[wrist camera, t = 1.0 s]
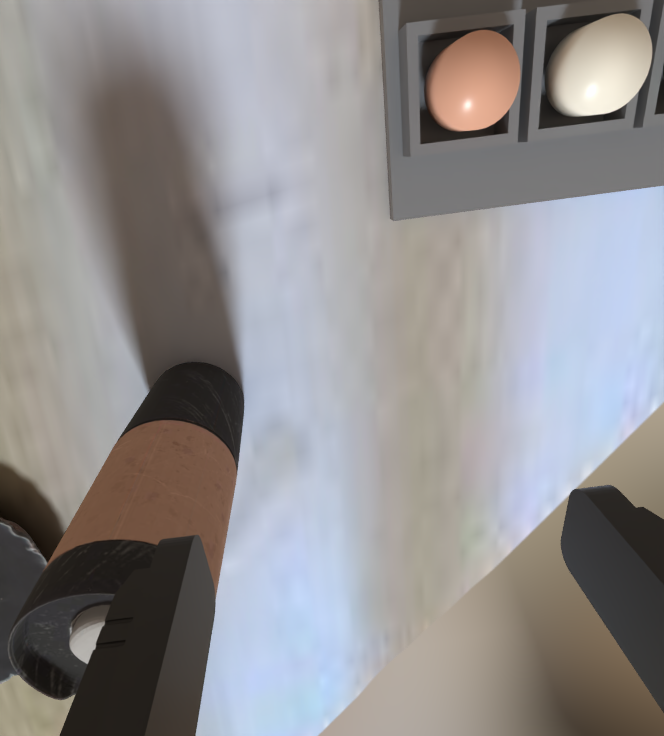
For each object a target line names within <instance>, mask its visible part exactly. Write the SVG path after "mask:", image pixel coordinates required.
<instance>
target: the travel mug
mask: <svg viewBox="0 0 664 736" xmlns="http://www.w3.org/2000/svg"><path fill="white" fill-rule="evenodd" d="M243 416H244V398H243V394H242V391H241V389H240V387H239V385H238V384H237V382H236V381H235V380H234V379H233V378H232V377H231V376H230V375H229V374H228V373H227V372H225V371H224V370H222V369H220V368H218V367H216V366H213V365H210V364H206V363H200V362H191V363H184V364H180V365H177V366H175V367H173V368H171V369H169V370H168V371H166V372H165V373H164V374H163V375H162V376H161V377H160V378H159V379H158V381H157V382H156V383H155V385H154V386H153V387H152V389H151V390H150V392H149V393H148V395H147V396H146V398H145V400H144V401H143V403H142V404H141V406H140V407H139V409H138V410H137V412H136V413H135V415H134V416H133V418H132V419H131V421H130V422H129V424H128V426H127V427H126V429H125V430H124V432H123V433H122V435H121V436H120V438H119V439H118V441H117V443H116V444H115V446H114V447H113V449H112V451H111V453H110V454H109V456H108V458H107V460H106V461H105V463H104V465H103V467H102V469H101V470H100V472H99V474H98V476H97V477H96V479H95V481H94V483H93V484H92V486H91V488H90V490H89V491H88V493H87V495H86V497H85V498H84V500H83V502H82V504H81V505H80V507H79V509H78V511H77V513H76V514H75V516H74V518H73V520H72V521H71V523H70V525H69V527H68V528H67V530H66V532H65V534H64V535H63V537H62V539H61V541H60V542H59V544H58V546H57V548H56V549H55V551H54V553H53V555H52V556H51V558H50V560H49V562H48V564H47V565H46V567H45V569H44V571H43V572H42V574H41V576H40V578H39V579H38V581H37V583H36V585H35V586H34V588H33V590H32V592H31V593H30V595H29V597H28V599H27V600H26V602H25V604H24V606H23V607H22V609H21V611H20V613H19V615H18V616H17V618H16V620H15V622H14V624H13V626H12V628H11V631H10V634H9V637H8V647H7V650H8V656H9V659H10V662H11V664H12V666H13V668H14V669H15V671H16V672H17V673H18V675H19V676H20V677H21V678H22V679H23V680H24V681H25V682H26V683H28V684H29V685H30V686H31V687H33V688H34V689H36V690H37V691H39V692H41V693H42V694H44V695H46V696H48V697H51V698H53V699H58V700H64V699H67V698H69V697H71V696H72V695H75V694H76V692H77V690H78V687H79V685H80V682H81V680H82V677H83V675H84V672H85V669H86V667H87V664H88V662H89V659H90V657H91V654H92V652H93V650H95V648H96V641H97V639H98V636H99V634H100V631H101V628H102V626H104V625H105V618H106V616H107V613H108V611H109V608H110V605H111V603H112V600H113V598H114V595H115V593H116V592H117V591H118V589H119V588H120V587H121V586H122V585H123V583H124V582H125V581H126V580H127V578H128V577H129V576H130V575H131V573H132V572H133V571H134V570H136V569H144V568H150V566H151V563H152V560H153V557H154V554H155V551H156V548H157V545H158V543H159V541H160V540H162V539H167V538H175V537H183V536H191V535H199V536H200V538H201V541H202V544H203V547H204V551H205V554H206V558H207V561H208V565H209V568H210V572H211V575H212V579H213V582H214V588H215V599H216V593H217V588H218V582H219V576H220V571H221V565H222V559H223V553H224V548H225V542H226V536H227V531H228V525H229V519H230V513H231V508H232V502H233V496H234V490H235V485H236V478H237V470H238V461H239V452H240V443H241V434H242V425H243Z"/></svg>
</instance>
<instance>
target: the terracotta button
mask: <svg viewBox="0 0 664 736" xmlns="http://www.w3.org/2000/svg"><path fill="white" fill-rule="evenodd" d="M519 84H520V63H519V59H518V56H517V53H516V51H515V49H514V47H513V46H512V44H511V43H510V42H509V41H508V40H507V39H506V38H505V37H504V36H503V35H501V34H499V33H497V32H494V31H490V30H478V31H474V32H471V33H469V34H467V35H465V36H463V37H461V38H460V39H458V40H457V41H455V42H454V43H452V44H451V45H449V46H448V47H446V48H445V49H443V50H442V51H441V52H440V53H439V54H438V55H437V56H436V58H435V59H434V60H433V62H432V64H431V65H430V67H429V70H428V72H427V75H426V79H425V84H424V99H425V104H426V107H427V110H428V112H429V114H430V116H431V117H432V119H433V120H434V121H435V122H436V123H437V124H438V125H439V126H441V127H442V128H444V129H446V130H449V131H455V132H460V131H471V130H479V129H483V128H486V127H489V126H491V125H493V124H494V123H496V122H497V121H498V120H500V119H501V118H502V117H503V116H504V115H505V114H506V113H507V111H508V110H509V108H510V107H511V105H512V104H513V102H514V100H515V97H516V95H517V92H518V88H519Z"/></svg>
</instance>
